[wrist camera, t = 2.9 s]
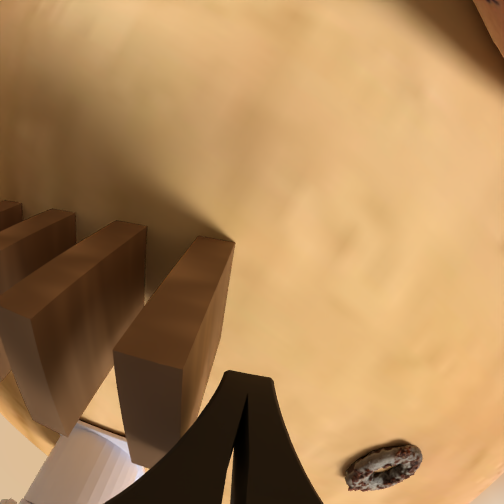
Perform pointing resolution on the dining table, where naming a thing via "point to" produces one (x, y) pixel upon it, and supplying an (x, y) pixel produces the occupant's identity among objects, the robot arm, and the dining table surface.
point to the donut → (363, 470)
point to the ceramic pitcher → (493, 20)
